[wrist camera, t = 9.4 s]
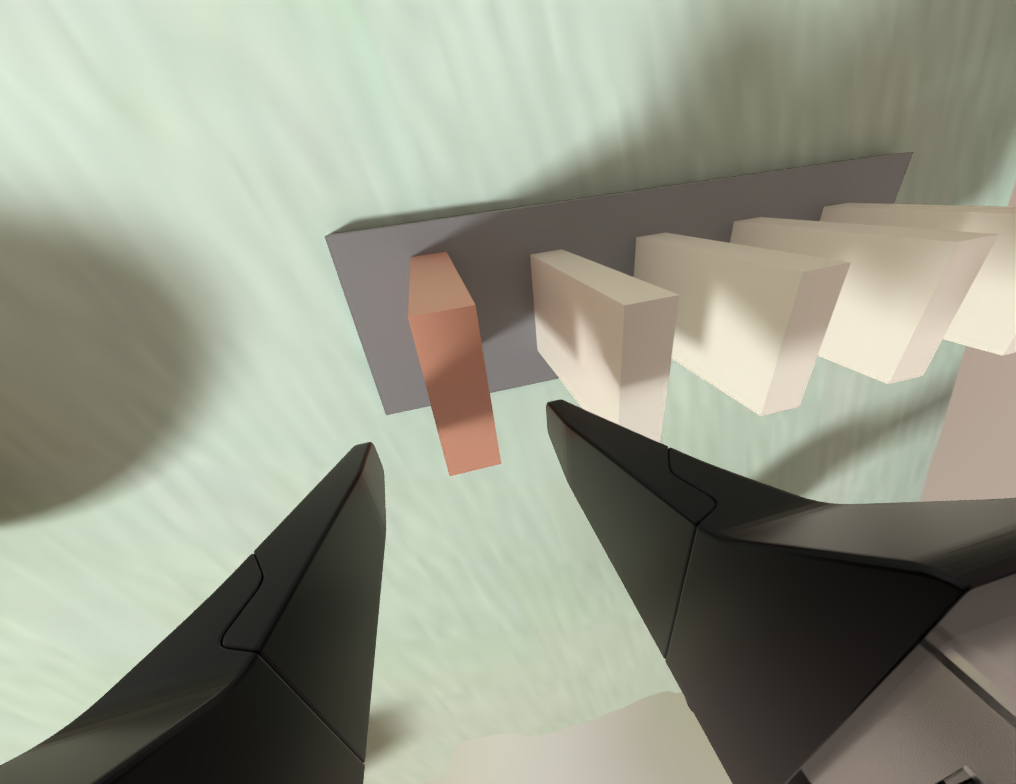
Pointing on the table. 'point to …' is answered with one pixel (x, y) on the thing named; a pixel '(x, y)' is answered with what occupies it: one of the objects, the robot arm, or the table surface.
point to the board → (571, 227)
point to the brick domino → (452, 363)
